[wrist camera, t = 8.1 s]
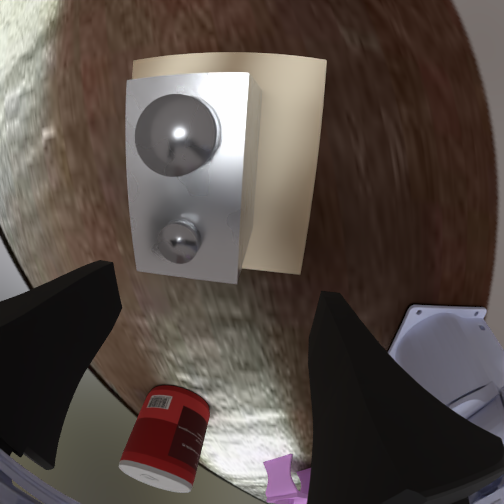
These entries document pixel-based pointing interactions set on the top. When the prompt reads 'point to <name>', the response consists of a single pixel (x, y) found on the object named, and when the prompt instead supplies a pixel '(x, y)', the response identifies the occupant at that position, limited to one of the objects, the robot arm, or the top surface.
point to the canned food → (167, 439)
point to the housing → (192, 172)
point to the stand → (271, 144)
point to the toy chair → (285, 482)
